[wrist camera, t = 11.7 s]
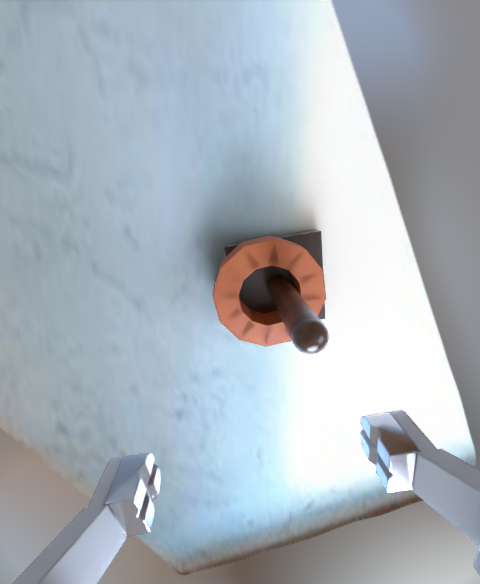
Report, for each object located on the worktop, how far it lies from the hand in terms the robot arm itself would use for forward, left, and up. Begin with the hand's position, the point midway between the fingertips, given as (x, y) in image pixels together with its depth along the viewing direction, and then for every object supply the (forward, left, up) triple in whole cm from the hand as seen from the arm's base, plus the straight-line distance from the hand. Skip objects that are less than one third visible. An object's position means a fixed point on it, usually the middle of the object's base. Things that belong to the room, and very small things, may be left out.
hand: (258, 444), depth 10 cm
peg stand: (0, +4, -20) cm, 20 cm away
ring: (0, +3, -18) cm, 19 cm away
